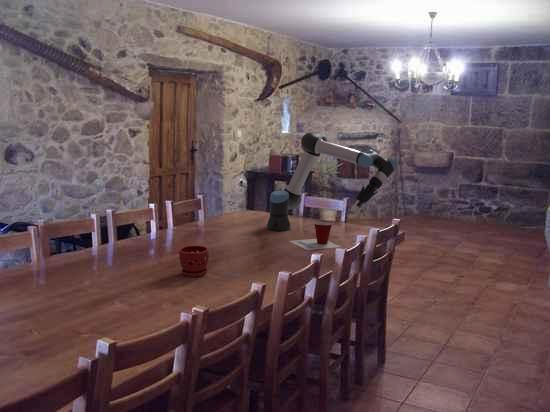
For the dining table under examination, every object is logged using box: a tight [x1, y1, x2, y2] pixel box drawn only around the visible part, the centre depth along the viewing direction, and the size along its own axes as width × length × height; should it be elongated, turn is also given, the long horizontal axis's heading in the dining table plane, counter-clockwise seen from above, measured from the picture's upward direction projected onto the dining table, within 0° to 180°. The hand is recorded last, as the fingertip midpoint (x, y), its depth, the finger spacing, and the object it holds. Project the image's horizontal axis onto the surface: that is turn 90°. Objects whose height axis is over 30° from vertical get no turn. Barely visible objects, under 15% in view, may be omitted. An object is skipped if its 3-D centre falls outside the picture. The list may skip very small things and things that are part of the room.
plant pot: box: [178, 245, 210, 278], centre depth 258 cm, size 13×13×12 cm
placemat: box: [288, 238, 342, 251], centre depth 324 cm, size 22×22×1 cm
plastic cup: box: [313, 221, 333, 244], centre depth 325 cm, size 11×11×12 cm
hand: (352, 209), depth 331 cm, fingers closed
